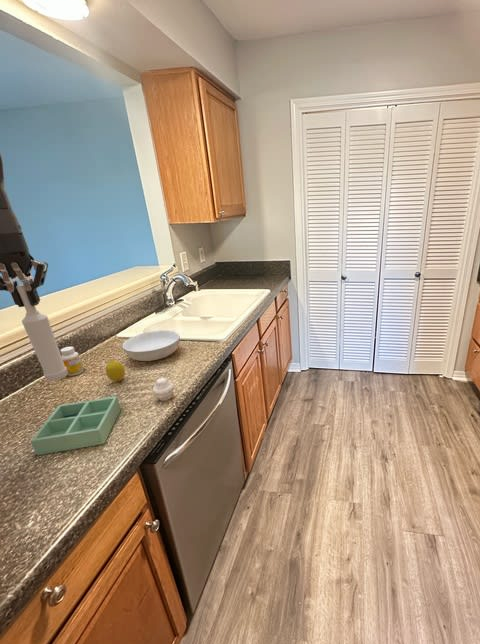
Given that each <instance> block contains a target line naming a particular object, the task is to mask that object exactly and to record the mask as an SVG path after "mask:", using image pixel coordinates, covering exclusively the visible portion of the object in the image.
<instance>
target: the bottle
mask: <svg viewBox="0 0 480 644" xmlns="http://www.w3.org/2000/svg"><path fill="white" fill-rule="evenodd" d="M16 287H17V290H18V292H19V294H20V297H21V299H22V302H23V304H24V307H23V308H24V309H25V311H26V312H25V316H24V317H23V319H22V320H21V323H22V325H23V328H24V330H25V333H26V334H27V337H28V339H29V341H30V344H31V346H32V348H33V351H34V353H35V355H36V358H37V359H38V361H39V364H40V367H41V369H42V371H43V373H42V374H43V376H44V378H45V380H46V381H48V382H54V381H59V380H62V379H64V378H66V377H67V376H68V375H67V374H68V370H67V368H66V367H65V366H64V363H63V360H62V357H61V356H62V353H61V350H60V349H59V346H58V343H57V340H56V337H55V334H54V331H53V328H52V325H51V324H50V320H49V318H48V316H47V314H44V313H41V312H40V311H39V310H37V308H36V306H31V304H30V301H29V299H28V296H27V293H26V291H27V290H26V289H25V287H24V285H23V284H19V285H18V286H16Z"/></svg>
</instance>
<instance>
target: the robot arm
mask: <svg viewBox="0 0 480 644" xmlns="http://www.w3.org/2000/svg"><path fill="white" fill-rule="evenodd" d="M3 162H4V161H3V157H2V153H1V152H0V274H1V275H0V291H1V292H2V291H5V292H9V293H10V295H11V298H12V300H13V302H14V304H15V305H16V306H17V307H18V308H25V307H24V304H23V302H22V299H21V297H20V294H19V292H18V290H17V287H16V286H18V285H20V284H19V281H20V282H21V283H22V285H24V287H25V289H26V290H27V291H26V293H27V296H28V299H29V301H30V304H31V306H35V307H36V306H39V304H40V302H41V298H40V296H39V292H38V290H37V289H38V288H40V287H41V286H44V284H45V279H46V277H47V272H48V268H49V264H48V263H47V262H46V261H44V262H42V261H39V260H36V259H35V258H34V257H33V256H32V255H31V254H30V251H29V246H28V243H27V240H26V238H25V235H24V232H23V230H22V226H21V224H20V222H19V219H18V217H17V215H16V214H15V211H14V209H13V207H12V204H11V201H10V198H9V196H8V194H7V191H6V189H5V172H4V163H3ZM32 268H33V270H34V271H35V272H34V276H33V273H32Z"/></svg>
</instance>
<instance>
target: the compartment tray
mask: <svg viewBox="0 0 480 644" xmlns="http://www.w3.org/2000/svg"><path fill="white" fill-rule="evenodd" d="M121 410H122V407H121V404H120V401H119V398H118V396H111V397H104V398H98V399H90V400H83V401H78V402H77V401H76V402H71V403H64V404H58V406H57V407H56V408H55V410H53V412H52V413H51V415H50V416H49V417H48V418H47V420H46V421H45V422H44V423H43V424H42V426H40V429H38V430H37V432H36V433H35V434H34V436H33V437H32V438H31V440H29V443H30V444H31V446H32V448H33V451H34V453H35V456H42V455H43V456H44V455H48V454H52V453H53V454H54V453H59V452H65V451H71V450H76V449H82V448H87V447H88V448H89V447H94V446H100V445H105V443H106V441H107V439H108V437H109V435H110V433H111V431H112V429H113V427H114V425H115V422H116V421H117V418H118V416H119V414H120V412H121Z"/></svg>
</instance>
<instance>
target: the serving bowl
mask: <svg viewBox="0 0 480 644" xmlns="http://www.w3.org/2000/svg"><path fill="white" fill-rule="evenodd" d="M180 343H181V335H180V333H178V332H177V331H174V330H170V329H158V330H157V329H156V330H152V331H146V332H142V333H139V334H136V335H133V336H131V337H130V338H127V339H126V340H125V341H124V342H123V343H122V350H123V352H124V353H125V354H126V356H127V357H129V358H131V359H132V360H135V361H140V362H152V361H157V360H162V359H163V358H167V357H168V356H170V355H172V354H173V353H174V352H175V351H176V350H177V349H178V348H179V346H180Z"/></svg>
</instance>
